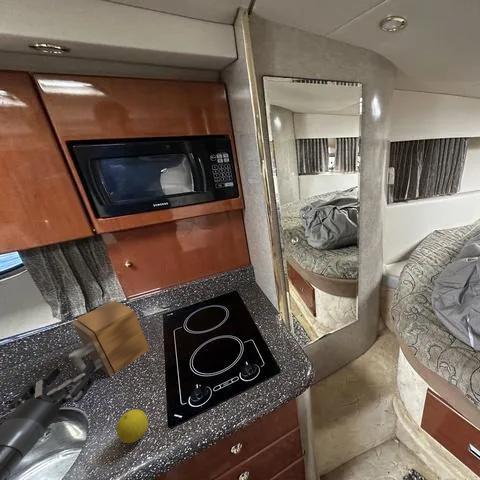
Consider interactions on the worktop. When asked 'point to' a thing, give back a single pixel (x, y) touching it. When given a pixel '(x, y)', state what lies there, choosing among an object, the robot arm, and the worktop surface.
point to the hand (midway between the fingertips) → (75, 367)
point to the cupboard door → (89, 350)
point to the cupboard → (116, 333)
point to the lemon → (132, 426)
